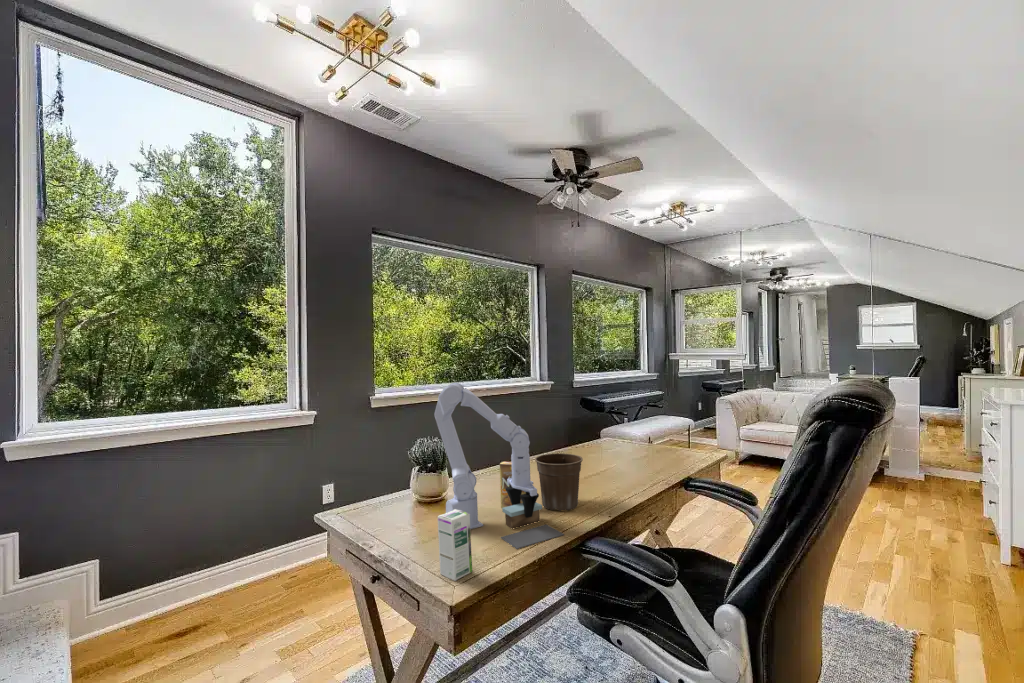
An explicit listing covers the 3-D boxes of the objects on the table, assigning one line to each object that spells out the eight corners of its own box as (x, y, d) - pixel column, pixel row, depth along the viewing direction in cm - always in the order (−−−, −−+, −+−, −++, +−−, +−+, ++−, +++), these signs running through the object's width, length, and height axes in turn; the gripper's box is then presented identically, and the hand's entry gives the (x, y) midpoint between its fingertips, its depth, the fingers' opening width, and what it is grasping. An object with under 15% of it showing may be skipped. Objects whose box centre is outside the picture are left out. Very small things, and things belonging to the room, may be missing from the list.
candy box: (500, 508, 155) (498, 463, 155) (505, 504, 159) (503, 460, 159) (525, 511, 152) (523, 465, 152) (529, 507, 155) (527, 462, 156)
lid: (511, 517, 136) (511, 512, 136) (502, 511, 141) (502, 507, 141) (542, 509, 142) (542, 505, 142) (532, 504, 147) (532, 500, 147)
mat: (516, 549, 123) (516, 548, 123) (500, 538, 131) (500, 537, 131) (564, 535, 132) (564, 534, 132) (546, 525, 139) (546, 524, 139)
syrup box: (455, 581, 107) (453, 520, 108) (439, 574, 111) (437, 514, 111) (472, 572, 112) (470, 512, 112) (456, 565, 116) (454, 507, 116)
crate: (512, 529, 137) (511, 515, 137) (505, 524, 141) (505, 511, 141) (539, 521, 142) (539, 508, 142) (532, 517, 146) (532, 505, 146)
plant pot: (562, 494, 168) (560, 450, 168) (594, 505, 155) (592, 458, 155) (527, 504, 158) (525, 458, 158) (558, 517, 145) (556, 467, 145)
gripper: (544, 472, 137) (546, 517, 137) (519, 462, 150) (521, 504, 150) (525, 476, 134) (526, 522, 134) (500, 466, 146) (502, 508, 146)
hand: (522, 513), depth 141 cm, fingers open, 7 cm apart
